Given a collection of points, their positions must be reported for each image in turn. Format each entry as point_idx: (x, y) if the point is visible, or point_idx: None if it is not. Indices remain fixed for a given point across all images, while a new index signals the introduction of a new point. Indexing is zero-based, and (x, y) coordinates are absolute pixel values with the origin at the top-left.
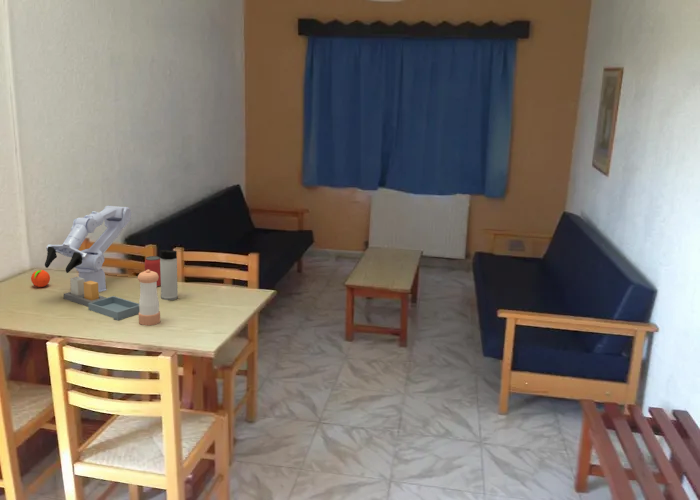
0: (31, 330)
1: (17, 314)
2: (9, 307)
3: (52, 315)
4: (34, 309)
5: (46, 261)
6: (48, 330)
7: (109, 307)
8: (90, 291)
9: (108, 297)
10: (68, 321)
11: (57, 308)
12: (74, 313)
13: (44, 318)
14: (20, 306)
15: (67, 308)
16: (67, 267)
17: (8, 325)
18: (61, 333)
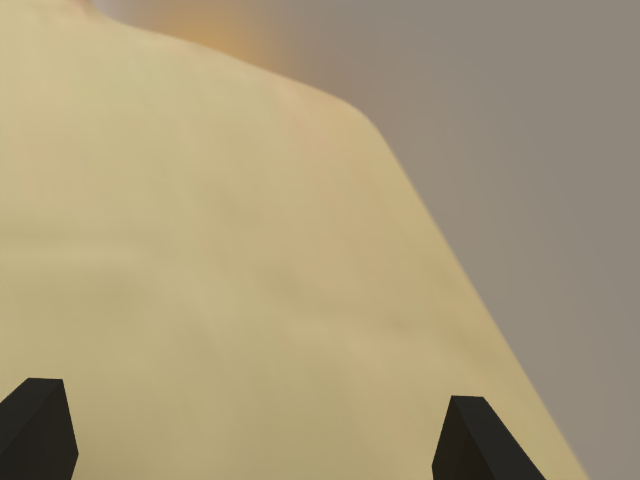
0: (215, 59)
1: (416, 302)
2: (539, 436)
3: (187, 290)
4: (365, 411)
5: (497, 432)
6: (120, 49)
7: None
8: None
9: None
10: (32, 176)
11: (206, 454)
12: (25, 341)
13: (219, 233)
14: None
15: (121, 464)
16: (16, 402)
17: (366, 133)
18: (27, 2)
